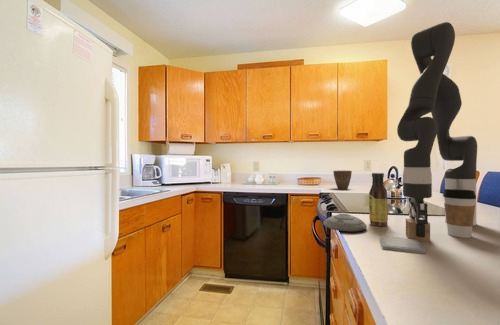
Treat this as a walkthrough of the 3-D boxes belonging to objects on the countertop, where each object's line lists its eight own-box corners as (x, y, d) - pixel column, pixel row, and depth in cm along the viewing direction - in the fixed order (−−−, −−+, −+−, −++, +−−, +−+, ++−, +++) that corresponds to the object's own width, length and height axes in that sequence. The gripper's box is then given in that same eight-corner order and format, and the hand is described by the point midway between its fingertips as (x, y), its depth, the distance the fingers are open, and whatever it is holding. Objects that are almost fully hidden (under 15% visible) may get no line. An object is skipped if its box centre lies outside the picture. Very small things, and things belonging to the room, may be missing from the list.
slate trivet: (379, 238, 79) (379, 235, 79) (417, 242, 75) (417, 239, 75) (382, 249, 70) (382, 245, 70) (425, 253, 66) (425, 250, 66)
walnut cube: (405, 235, 83) (405, 218, 83) (425, 236, 80) (425, 219, 80) (408, 239, 78) (408, 222, 77) (430, 241, 75) (430, 223, 75)
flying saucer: (348, 237, 82) (348, 220, 82) (314, 227, 95) (314, 212, 95) (376, 230, 89) (375, 214, 89) (341, 221, 102) (341, 208, 102)
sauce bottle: (371, 221, 100) (371, 172, 100) (389, 224, 96) (388, 172, 96) (367, 225, 95) (366, 172, 95) (385, 227, 91) (385, 173, 91)
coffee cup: (437, 233, 84) (436, 188, 84) (453, 230, 87) (453, 187, 87) (466, 240, 76) (465, 191, 76) (483, 237, 79) (482, 189, 79)
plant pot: (353, 190, 205) (353, 171, 205) (334, 190, 209) (334, 171, 209) (350, 188, 220) (350, 170, 220) (332, 188, 223) (332, 170, 223)
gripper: (438, 183, 71) (438, 241, 71) (425, 180, 84) (425, 229, 84) (407, 183, 74) (407, 238, 74) (399, 180, 87) (399, 226, 87)
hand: (417, 233), depth 79 cm, fingers open, 8 cm apart
